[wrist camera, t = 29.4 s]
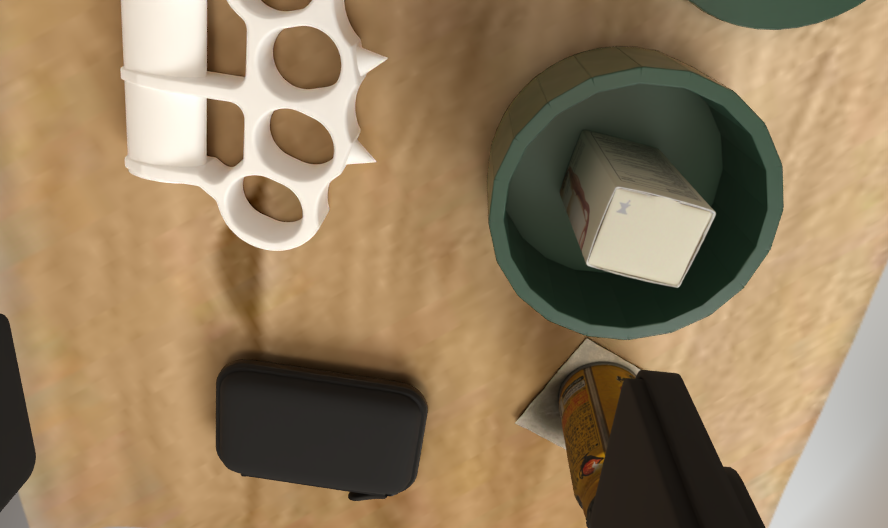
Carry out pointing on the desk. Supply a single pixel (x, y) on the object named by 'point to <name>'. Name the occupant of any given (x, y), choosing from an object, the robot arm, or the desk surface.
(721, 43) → the desk surface
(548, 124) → the tin
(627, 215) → the white cardboard carton
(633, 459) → the robot arm
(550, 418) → the condiment
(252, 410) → the carrying case
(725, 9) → the tin lid
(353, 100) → the knuckle duster
